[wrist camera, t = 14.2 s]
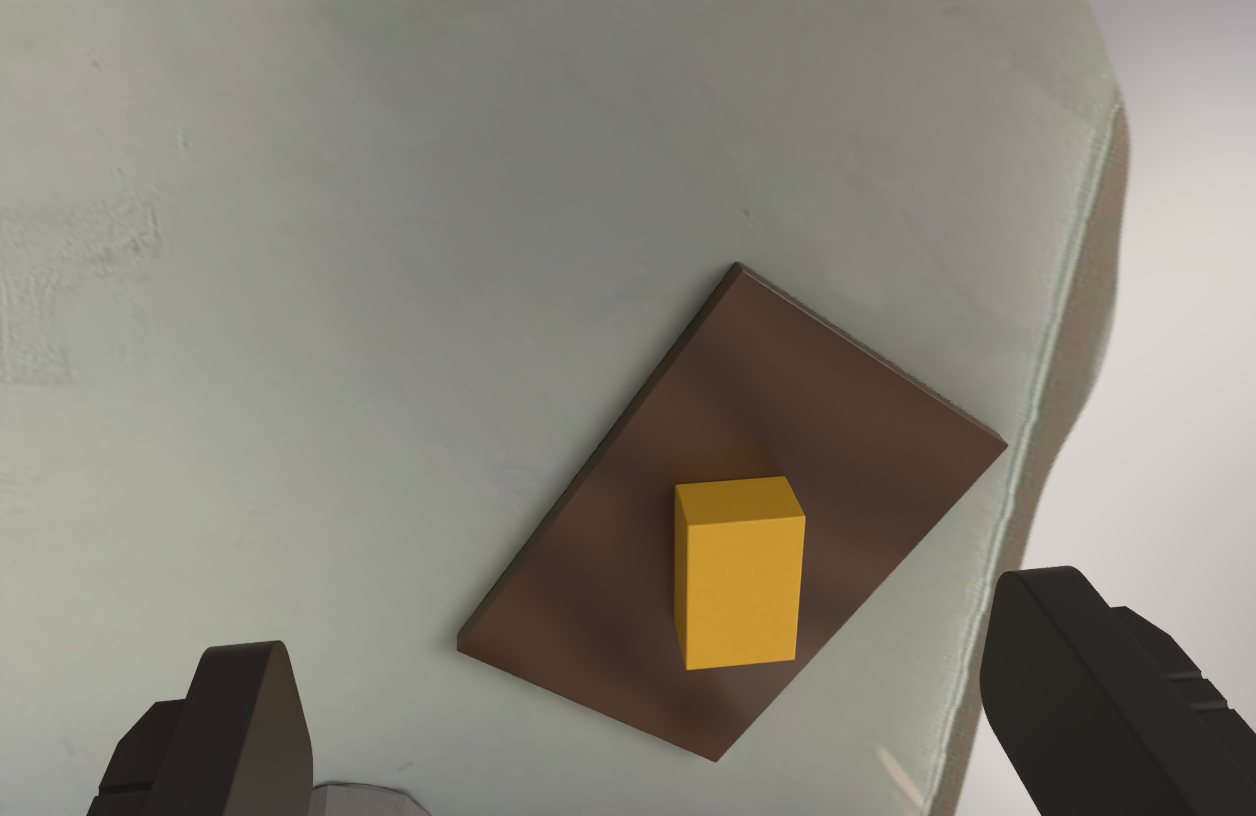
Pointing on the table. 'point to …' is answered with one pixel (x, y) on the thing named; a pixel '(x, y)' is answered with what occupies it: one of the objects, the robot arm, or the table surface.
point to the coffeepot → (361, 802)
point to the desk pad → (720, 451)
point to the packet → (737, 571)
